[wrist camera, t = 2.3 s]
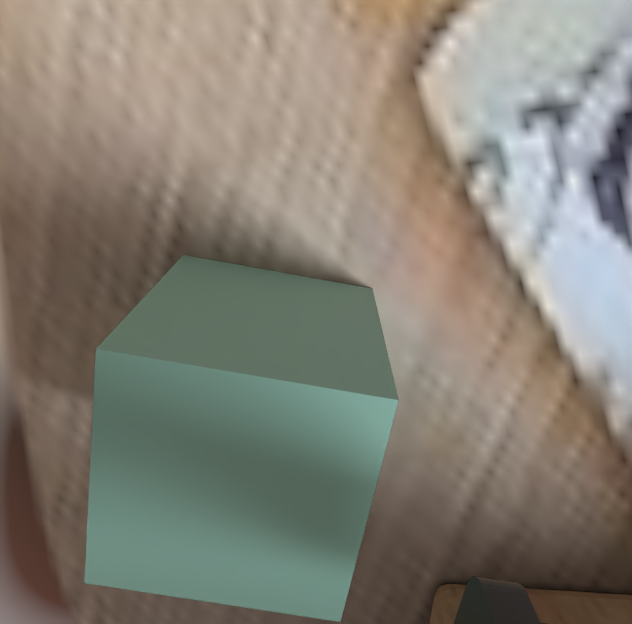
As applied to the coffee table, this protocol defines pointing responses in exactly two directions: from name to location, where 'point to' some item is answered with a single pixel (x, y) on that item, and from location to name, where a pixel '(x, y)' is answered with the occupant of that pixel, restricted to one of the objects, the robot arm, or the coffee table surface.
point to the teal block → (238, 439)
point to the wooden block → (547, 606)
